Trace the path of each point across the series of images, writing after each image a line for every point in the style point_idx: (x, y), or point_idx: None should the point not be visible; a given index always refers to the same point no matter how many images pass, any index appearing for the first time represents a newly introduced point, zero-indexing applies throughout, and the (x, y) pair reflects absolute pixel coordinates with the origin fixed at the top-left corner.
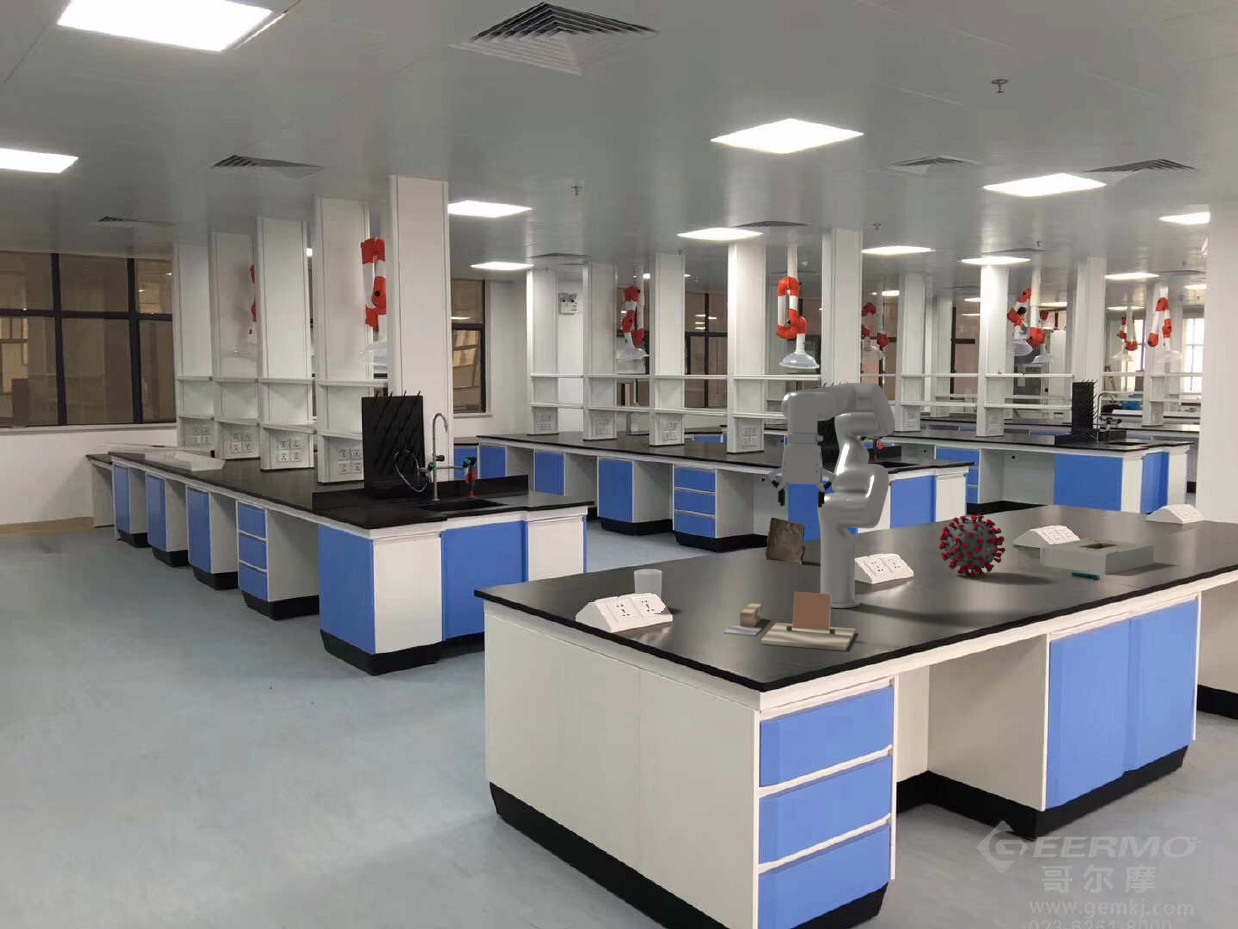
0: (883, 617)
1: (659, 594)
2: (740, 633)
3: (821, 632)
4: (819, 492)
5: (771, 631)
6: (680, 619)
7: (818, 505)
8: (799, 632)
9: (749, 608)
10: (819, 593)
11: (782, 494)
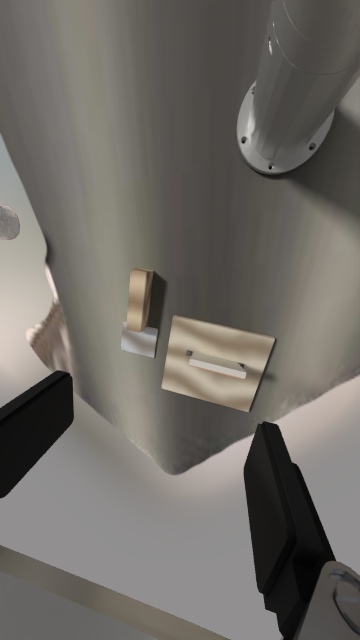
0: (345, 234)
1: (2, 225)
2: (138, 353)
3: (227, 358)
4: (269, 605)
5: (169, 356)
6: (64, 290)
7: (247, 479)
8: None
9: (133, 304)
10: (226, 374)
11: (17, 478)
